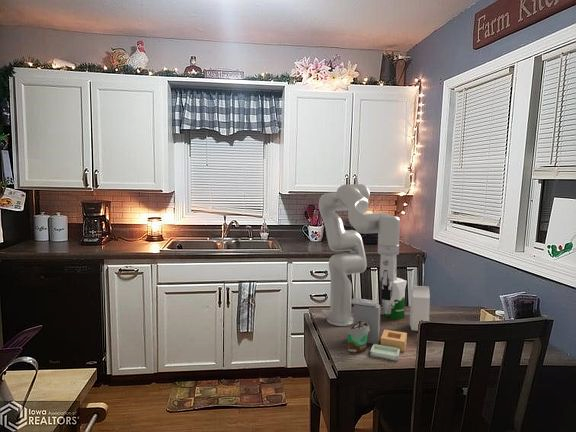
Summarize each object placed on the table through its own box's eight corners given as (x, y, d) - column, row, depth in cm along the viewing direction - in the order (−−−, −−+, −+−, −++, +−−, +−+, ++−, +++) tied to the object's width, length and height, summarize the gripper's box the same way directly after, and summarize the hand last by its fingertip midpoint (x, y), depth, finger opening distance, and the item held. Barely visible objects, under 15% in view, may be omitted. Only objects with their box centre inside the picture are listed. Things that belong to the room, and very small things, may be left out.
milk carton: (428, 331, 166) (430, 289, 164) (411, 330, 167) (413, 288, 165) (426, 325, 173) (427, 284, 171) (409, 324, 174) (411, 283, 172)
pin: (381, 313, 142) (381, 276, 141) (382, 310, 145) (383, 274, 144) (390, 314, 141) (390, 277, 140) (391, 311, 144) (391, 275, 143)
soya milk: (393, 311, 190) (395, 272, 188) (407, 317, 182) (409, 276, 180) (380, 315, 186) (381, 274, 184) (394, 321, 178) (395, 279, 176)
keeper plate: (351, 303, 156) (351, 301, 156) (353, 300, 160) (353, 297, 160) (376, 306, 152) (376, 304, 152) (377, 303, 156) (378, 300, 156)
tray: (369, 356, 144) (370, 351, 144) (373, 348, 150) (373, 343, 150) (397, 361, 140) (397, 356, 140) (399, 352, 146) (399, 348, 146)
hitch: (351, 342, 155) (352, 306, 153) (356, 334, 163) (357, 300, 162) (404, 351, 147) (405, 314, 146) (406, 342, 155) (408, 306, 154)
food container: (362, 358, 142) (362, 332, 141) (346, 354, 145) (347, 328, 144) (373, 345, 152) (374, 321, 151) (358, 342, 156) (359, 318, 155)
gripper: (396, 254, 132) (394, 306, 134) (401, 246, 147) (399, 293, 149) (373, 252, 135) (372, 303, 137) (381, 244, 150) (380, 290, 152)
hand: (386, 297), depth 143 cm, fingers closed on pin, 3 cm apart
